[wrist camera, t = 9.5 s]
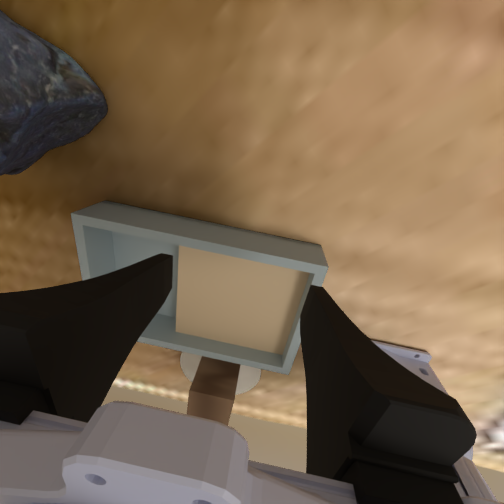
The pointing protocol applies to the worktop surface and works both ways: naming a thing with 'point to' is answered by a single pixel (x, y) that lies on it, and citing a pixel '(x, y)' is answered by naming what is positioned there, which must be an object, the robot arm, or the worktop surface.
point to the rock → (41, 98)
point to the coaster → (245, 379)
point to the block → (213, 390)
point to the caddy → (209, 281)
